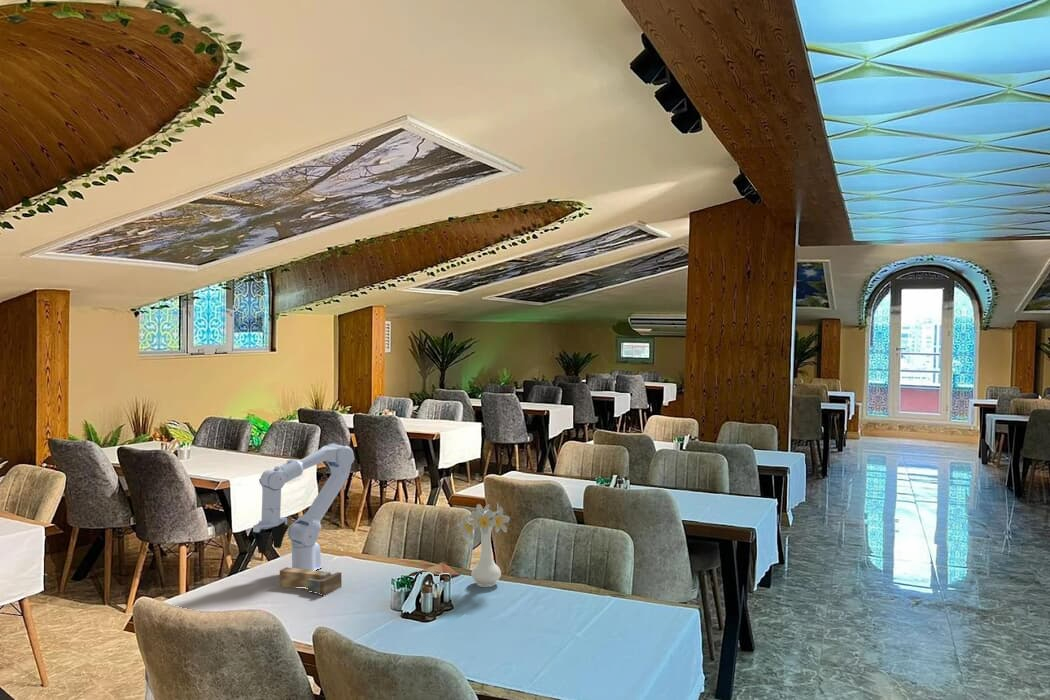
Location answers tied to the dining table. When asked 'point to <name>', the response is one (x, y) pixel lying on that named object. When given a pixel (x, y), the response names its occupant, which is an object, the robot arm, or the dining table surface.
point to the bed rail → (300, 577)
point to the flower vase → (485, 542)
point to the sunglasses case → (438, 570)
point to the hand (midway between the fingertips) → (269, 550)
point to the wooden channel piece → (325, 584)
